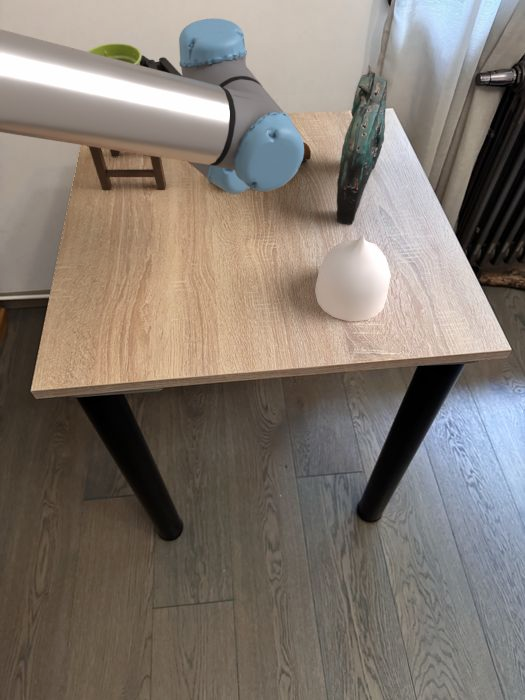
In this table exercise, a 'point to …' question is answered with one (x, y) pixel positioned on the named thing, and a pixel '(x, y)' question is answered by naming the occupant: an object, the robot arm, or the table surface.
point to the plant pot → (119, 52)
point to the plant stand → (126, 170)
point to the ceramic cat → (361, 144)
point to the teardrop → (353, 281)
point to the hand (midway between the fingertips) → (100, 63)
